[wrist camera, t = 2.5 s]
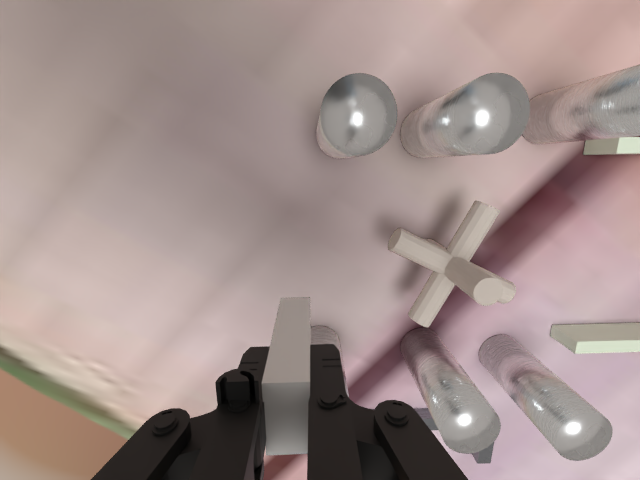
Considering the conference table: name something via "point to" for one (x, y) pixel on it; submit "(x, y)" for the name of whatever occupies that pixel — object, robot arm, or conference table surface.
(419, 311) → the beige rod cross
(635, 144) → the corral
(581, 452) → the set of silver pegs
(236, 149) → the conference table surface
